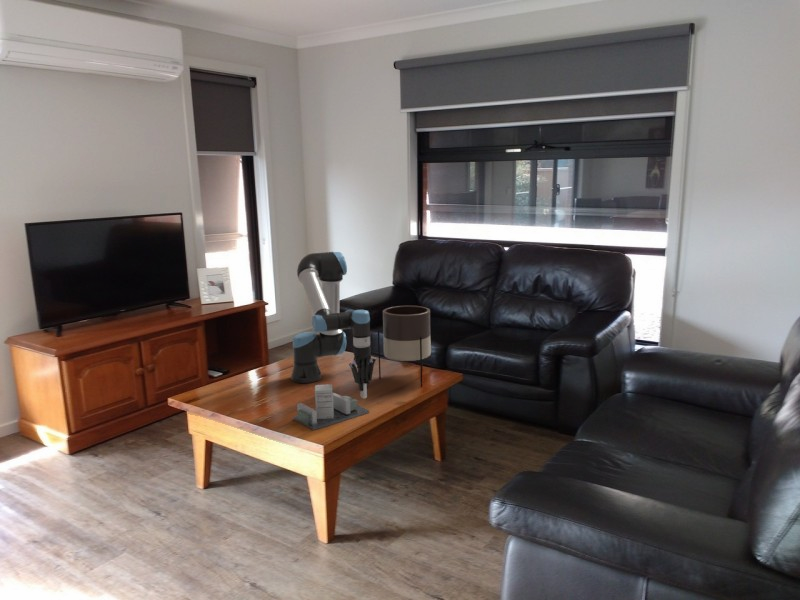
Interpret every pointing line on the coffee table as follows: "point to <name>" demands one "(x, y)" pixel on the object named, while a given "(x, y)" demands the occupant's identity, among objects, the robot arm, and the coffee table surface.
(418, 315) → the planter
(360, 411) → the vise
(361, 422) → the coffee table surface
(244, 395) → the coffee table surface
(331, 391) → the supplement box
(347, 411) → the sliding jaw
